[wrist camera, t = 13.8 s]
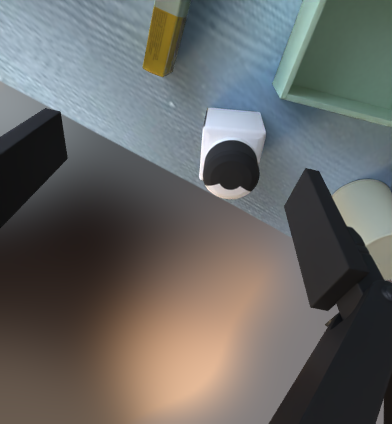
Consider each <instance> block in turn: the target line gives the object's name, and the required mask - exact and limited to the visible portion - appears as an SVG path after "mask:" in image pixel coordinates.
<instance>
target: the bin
mask: <svg viewBox="0 0 392 424" xmlns="http://www.w3.org/2000/svg"><path fill="white" fill-rule="evenodd" d="M272 84H273V86H274V88H275V90H276V92H277V93H278V95H279V97H280V99H284V100H288V101H291V102H295V103H299V104H303V105H307V106H311V107H315V108H318V109H322V110H326V111H330V112H334V113H338V114H342V115H346V116H349V117H353V118H357V119H361V120H365V121H369V122H373V123H377V124H380V125H384V126H388V127H392V0H303V2H302V5H301V8H300V10H299V13H298V16H297V18H296V21H295V24H294V26H293V29H292V32H291V34H290V37H289V40H288V43H287V45H286V48H285V51H284V53H283V56H282V59H281V61H280V64H279V67H278V69H277V72H276V75H275V77H274V80H273V83H272Z"/></svg>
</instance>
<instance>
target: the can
mask: <svg viewBox="0 0 392 424" xmlns="http://www.w3.org/2000/svg"><path fill="white" fill-rule="evenodd" d="M332 198H333V200H334V202H335V204H336V206H337V208H338V210H339V212H340V214H341V216H342V218H343V220H344V221H345V223H346V225H347V226H349V227H352V228H353V229H354V230H355V231H356V232H357V233H358V234H359V235H360V236H361V238H362V239H363V241H364V243H365V245H366V246H365V247H367V249H368V250H369V252H370V253H369V254H370V255H371V256H372V258H373V260H374V261H375V263H376V265H377V267H378V269H379V271H380V273H381V274H382V276H383V278H384V280H391V279H392V193H391V191H390V189H389V187H388V186H387V185H386V184H384V183H383V182H380V181H378V180H373V179H363V180H357V181H354V182H351V183H349V184H346V185H344V186H343V187H341V188H340V189H338V190H337V191H336V192H335V193H334V194H333V195H332Z"/></svg>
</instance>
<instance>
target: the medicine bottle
mask: <svg viewBox="0 0 392 424" xmlns="http://www.w3.org/2000/svg"><path fill="white" fill-rule="evenodd" d="M265 137H266V130H265V127H264V124H263V120H262V117H261V114H260V112H253V111H242V110H231V109H220V108H208V109H207V111H206V116H205V121H204V126H203V136H202V149H201V162H200V175H199V177H200V179H201V180H203V181H204V184H205V186H206V187H207V189H208V190H209V191H210V192H211V193H213V194H214V195H216V196H218V197H220V198H224V199H236V198H240V197H243V196H245V195H247V194H249V193H250V192H251V191H252V190H253V189H254V188H255V187H256V185H257V183H258V180H259V175H260V172H259V162H260V158H261V154H262V150H263V146H264V142H265Z"/></svg>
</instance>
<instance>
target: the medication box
mask: <svg viewBox="0 0 392 424" xmlns="http://www.w3.org/2000/svg"><path fill="white" fill-rule="evenodd" d="M190 4H191V0H155V4H154V9H153V14H152V20H151V25H150V30H149V36H148V41H147V47H146V52H145V57H144V63H143V69H144V70H146V71H148V72H150V73H153V74H155V75H158V76H161V77H164V76H166V75H168V74H170V73H172V72H173V69H174V65H175V61H176V58H177V54H178V50H179V46H180V43H181V39H182V35H183V31H184V27H185V23H186V20H187V16H188V12H189V8H190Z"/></svg>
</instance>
